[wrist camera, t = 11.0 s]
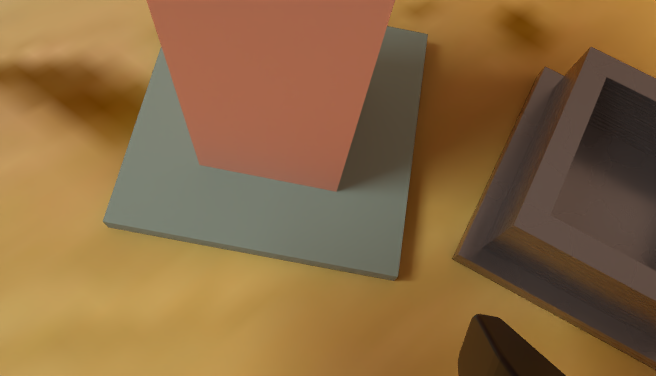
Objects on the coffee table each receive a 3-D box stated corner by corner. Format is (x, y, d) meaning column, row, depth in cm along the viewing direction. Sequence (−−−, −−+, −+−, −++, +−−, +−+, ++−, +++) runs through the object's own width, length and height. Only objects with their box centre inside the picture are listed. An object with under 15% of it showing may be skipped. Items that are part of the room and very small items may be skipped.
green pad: (393, 280, 17) (397, 276, 17) (108, 227, 17) (102, 221, 16) (423, 44, 21) (427, 34, 20) (184, -4, 20) (181, -15, 20)
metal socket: (685, 386, 17) (766, 383, 14) (452, 258, 18) (485, 232, 15) (741, 177, 20) (818, 141, 17) (537, 75, 20) (579, 24, 18)
